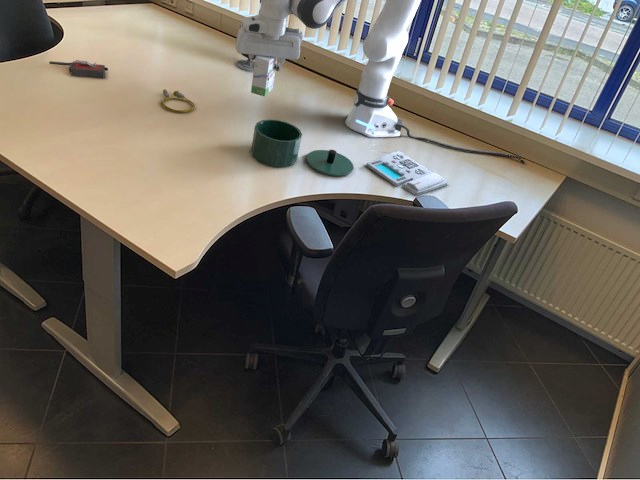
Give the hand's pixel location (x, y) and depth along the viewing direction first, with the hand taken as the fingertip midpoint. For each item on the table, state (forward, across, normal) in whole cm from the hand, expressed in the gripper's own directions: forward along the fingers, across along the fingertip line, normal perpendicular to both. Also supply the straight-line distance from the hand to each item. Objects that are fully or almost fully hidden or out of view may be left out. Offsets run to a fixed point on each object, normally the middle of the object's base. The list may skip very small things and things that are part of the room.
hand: (265, 69), depth 175 cm
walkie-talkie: (+25, +59, -42) cm, 76 cm away
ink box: (+7, 0, 0) cm, 7 cm away
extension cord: (+25, +24, -23) cm, 42 cm away
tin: (+25, -5, +11) cm, 28 cm away
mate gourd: (+25, -9, -67) cm, 72 cm away
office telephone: (+25, -51, +19) cm, 60 cm away
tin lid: (+24, -23, +15) cm, 37 cm away
